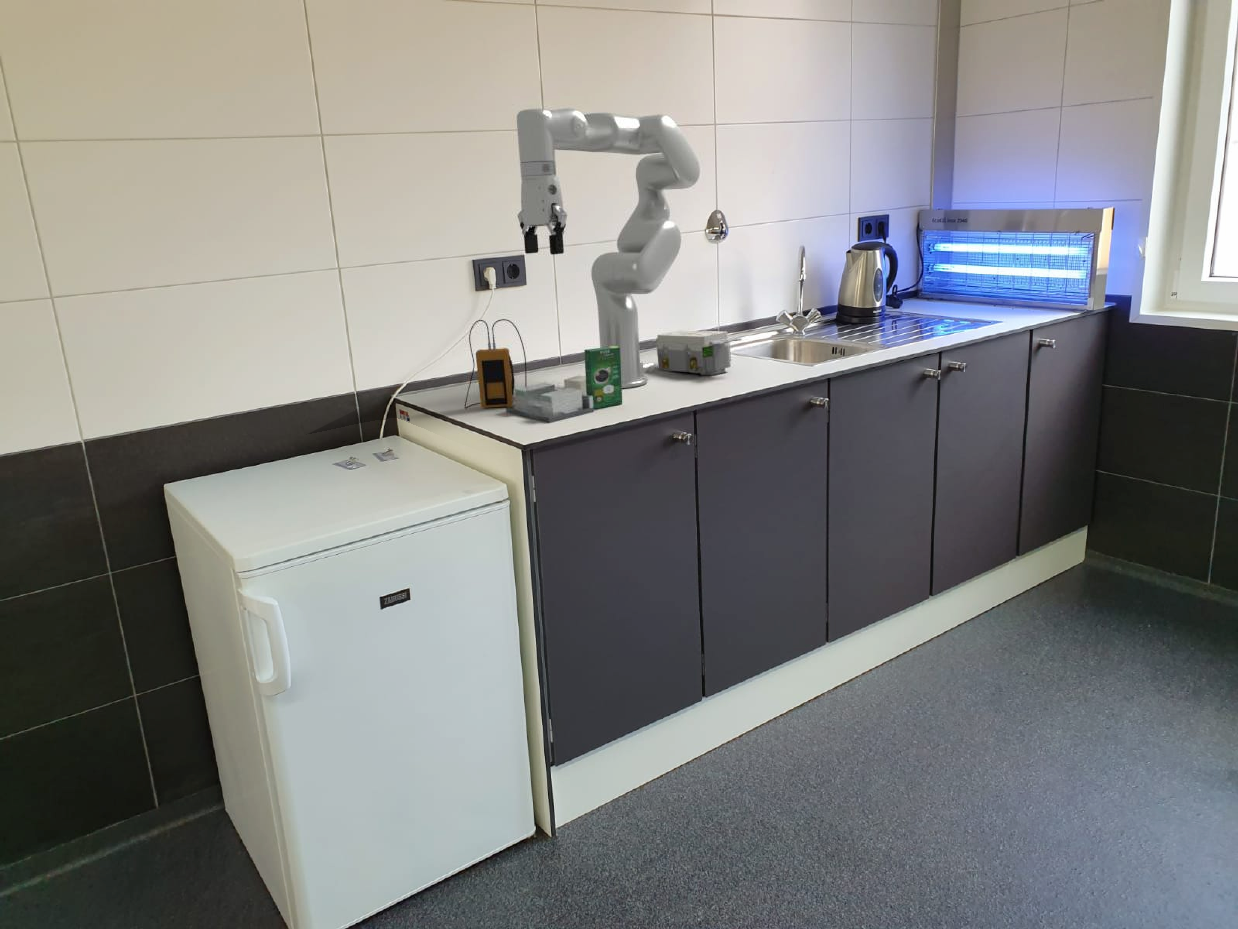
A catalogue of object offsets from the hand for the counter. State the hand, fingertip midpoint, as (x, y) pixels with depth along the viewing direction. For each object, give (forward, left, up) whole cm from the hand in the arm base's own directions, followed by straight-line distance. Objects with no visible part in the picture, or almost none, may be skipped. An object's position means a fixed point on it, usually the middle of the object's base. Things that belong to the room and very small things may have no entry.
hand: (544, 253), depth 200 cm
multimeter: (+8, -11, -34) cm, 36 cm away
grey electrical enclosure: (-45, 0, -34) cm, 56 cm away
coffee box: (-5, +12, -34) cm, 36 cm away
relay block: (-6, +2, -34) cm, 34 cm away
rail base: (+6, +6, -34) cm, 34 cm away
